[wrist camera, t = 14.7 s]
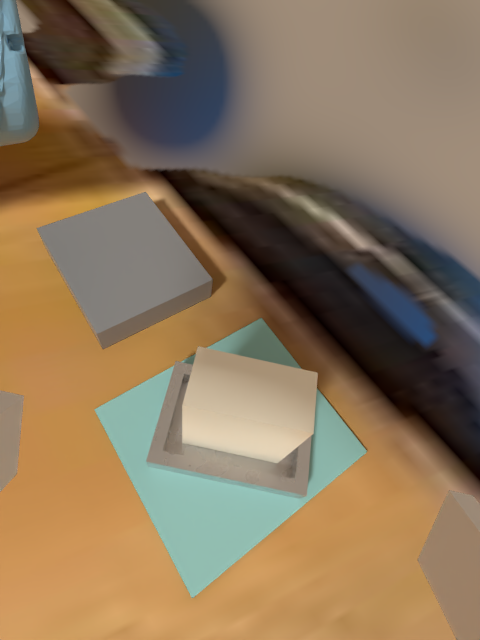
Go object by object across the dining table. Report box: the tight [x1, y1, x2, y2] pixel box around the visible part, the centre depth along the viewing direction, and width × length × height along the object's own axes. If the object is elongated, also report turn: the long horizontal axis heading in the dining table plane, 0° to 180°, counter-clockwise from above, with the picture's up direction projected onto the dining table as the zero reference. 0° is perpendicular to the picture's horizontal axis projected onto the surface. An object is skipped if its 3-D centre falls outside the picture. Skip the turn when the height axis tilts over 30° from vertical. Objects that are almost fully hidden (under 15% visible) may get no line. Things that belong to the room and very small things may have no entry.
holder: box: [146, 361, 311, 499], centre depth 32 cm, size 8×12×2 cm
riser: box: [37, 192, 213, 349], centre depth 39 cm, size 12×14×3 cm
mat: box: [94, 318, 367, 598], centre depth 33 cm, size 18×16×1 cm
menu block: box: [182, 346, 318, 463], centre depth 28 cm, size 4×8×10 cm, turn 80°
